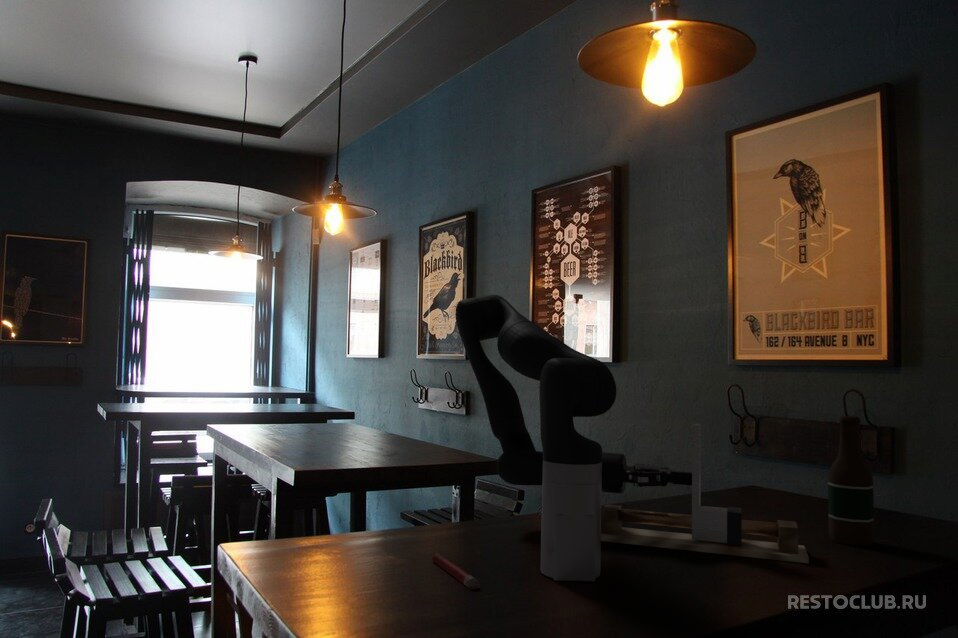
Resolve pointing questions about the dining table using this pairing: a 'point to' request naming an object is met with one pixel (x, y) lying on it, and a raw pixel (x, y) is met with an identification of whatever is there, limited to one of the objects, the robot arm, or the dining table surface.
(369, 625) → the dining table surface
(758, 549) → the pipe stand
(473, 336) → the robot arm
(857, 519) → the beer bottle
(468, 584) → the flare
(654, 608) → the dining table surface
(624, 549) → the dining table surface
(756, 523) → the pipe
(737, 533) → the ring
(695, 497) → the grey l-shaped bracket
